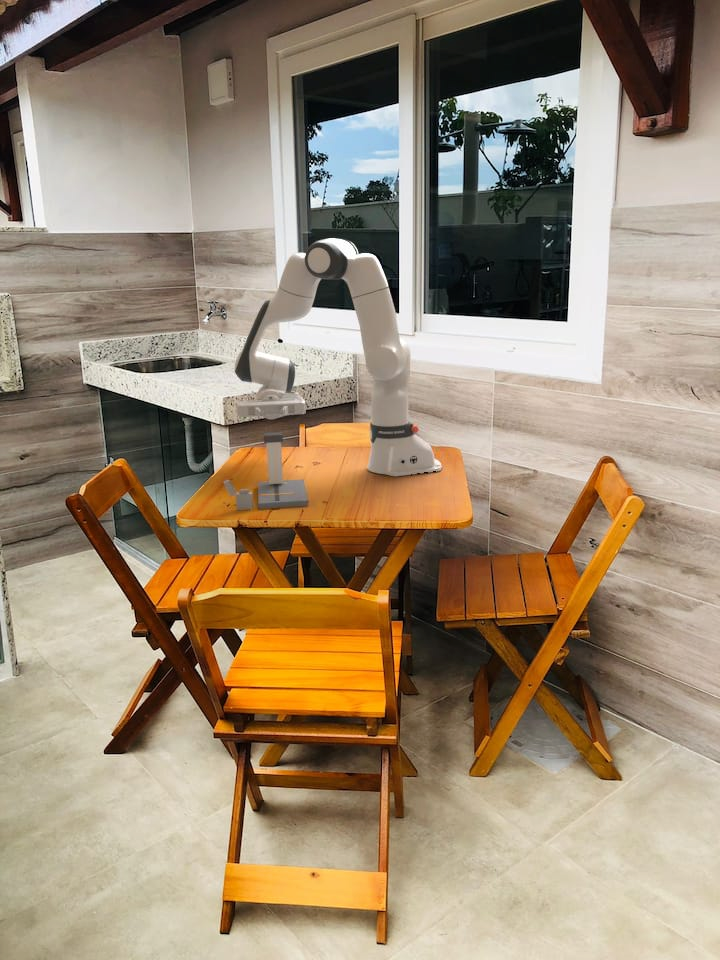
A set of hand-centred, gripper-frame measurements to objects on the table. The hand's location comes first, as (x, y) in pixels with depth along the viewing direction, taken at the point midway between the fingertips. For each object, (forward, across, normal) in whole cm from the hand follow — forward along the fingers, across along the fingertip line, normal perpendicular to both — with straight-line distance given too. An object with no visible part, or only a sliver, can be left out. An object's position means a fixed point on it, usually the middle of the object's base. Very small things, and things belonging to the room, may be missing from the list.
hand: (271, 413), depth 226 cm
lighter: (+25, -10, +20) cm, 34 cm away
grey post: (+9, 0, +18) cm, 20 cm away
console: (+16, +2, +20) cm, 26 cm away
